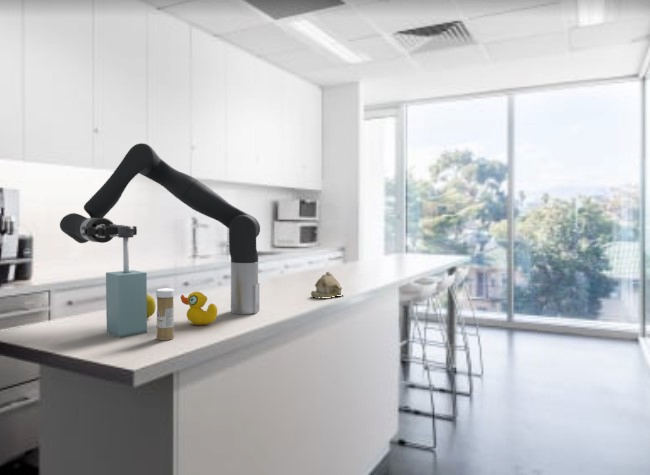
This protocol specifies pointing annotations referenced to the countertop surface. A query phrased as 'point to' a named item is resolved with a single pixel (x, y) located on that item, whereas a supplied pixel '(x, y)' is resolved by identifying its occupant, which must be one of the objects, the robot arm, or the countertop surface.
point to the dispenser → (126, 303)
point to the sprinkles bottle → (165, 313)
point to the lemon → (150, 306)
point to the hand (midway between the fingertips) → (120, 231)
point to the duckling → (199, 309)
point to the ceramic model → (327, 286)
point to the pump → (125, 244)
